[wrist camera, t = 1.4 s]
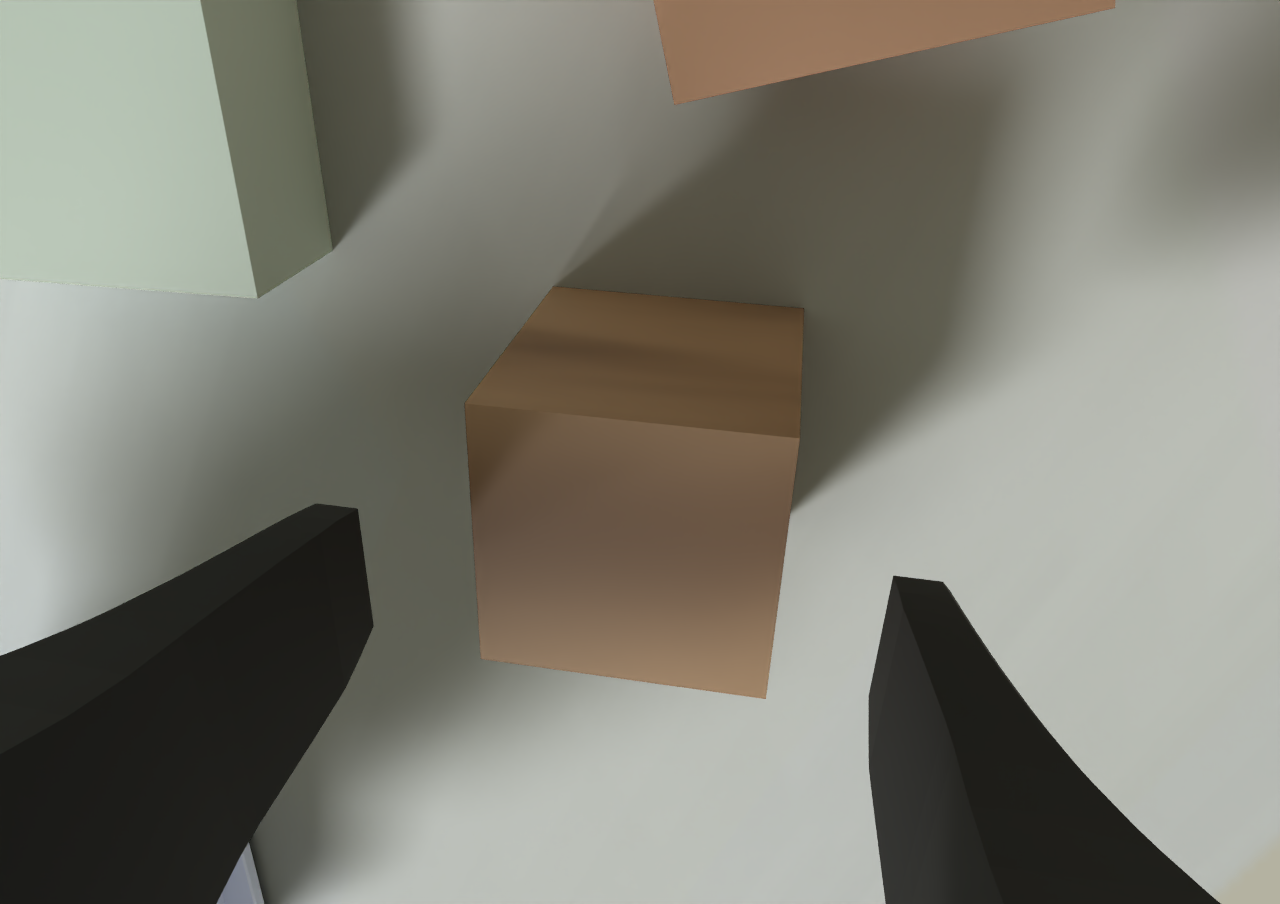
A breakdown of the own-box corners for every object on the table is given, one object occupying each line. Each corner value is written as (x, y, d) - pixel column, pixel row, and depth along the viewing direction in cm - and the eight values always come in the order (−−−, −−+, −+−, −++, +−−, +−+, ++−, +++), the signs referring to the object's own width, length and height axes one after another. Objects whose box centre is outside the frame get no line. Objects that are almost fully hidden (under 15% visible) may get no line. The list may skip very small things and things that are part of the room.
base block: (341, 245, 18) (257, 299, 15) (8, 223, 19) (-124, 269, 16) (275, -209, 14) (154, -241, 12) (-127, -206, 15) (-322, -235, 13)
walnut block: (777, 522, 19) (765, 698, 14) (556, 496, 19) (480, 658, 15) (804, 307, 16) (800, 438, 12) (553, 285, 17) (463, 403, 13)
